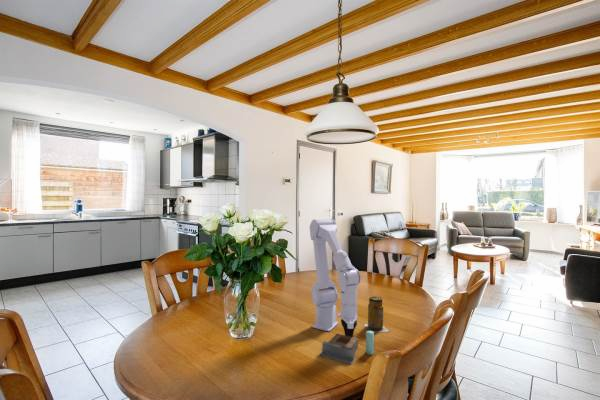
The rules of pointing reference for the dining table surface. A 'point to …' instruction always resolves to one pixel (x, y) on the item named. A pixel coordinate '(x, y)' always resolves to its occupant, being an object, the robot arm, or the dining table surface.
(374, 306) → the condiment
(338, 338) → the brown hollow block
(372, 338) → the dowel
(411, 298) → the dining table surface
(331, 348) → the wall
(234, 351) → the dining table surface
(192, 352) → the dining table surface
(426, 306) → the dining table surface
